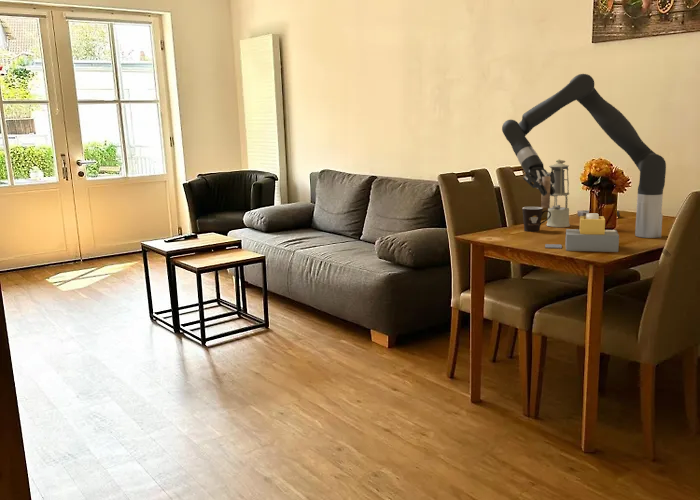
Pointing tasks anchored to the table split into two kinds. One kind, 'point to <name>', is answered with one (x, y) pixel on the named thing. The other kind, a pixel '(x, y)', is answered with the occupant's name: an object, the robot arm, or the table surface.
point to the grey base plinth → (592, 236)
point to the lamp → (559, 213)
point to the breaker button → (592, 216)
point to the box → (583, 212)
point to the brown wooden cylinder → (546, 199)
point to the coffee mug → (533, 218)
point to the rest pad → (553, 246)
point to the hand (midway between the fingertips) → (549, 193)
